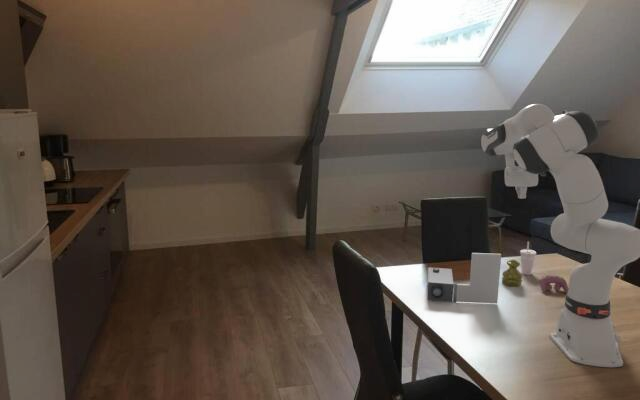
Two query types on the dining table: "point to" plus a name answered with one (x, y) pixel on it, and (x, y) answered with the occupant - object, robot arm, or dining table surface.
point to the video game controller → (557, 280)
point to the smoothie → (527, 260)
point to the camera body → (440, 284)
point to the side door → (480, 280)
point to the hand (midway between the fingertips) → (522, 198)
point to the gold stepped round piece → (512, 275)
